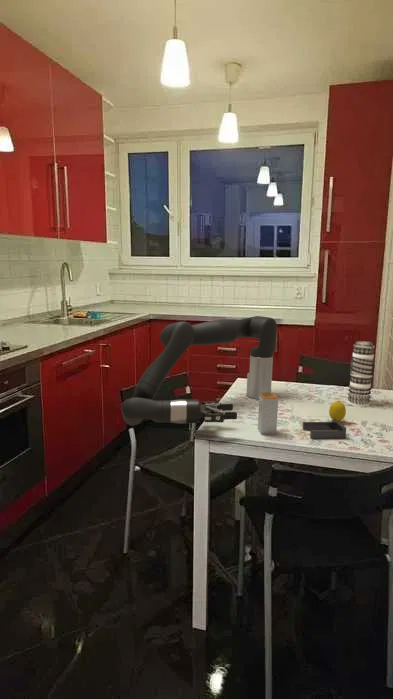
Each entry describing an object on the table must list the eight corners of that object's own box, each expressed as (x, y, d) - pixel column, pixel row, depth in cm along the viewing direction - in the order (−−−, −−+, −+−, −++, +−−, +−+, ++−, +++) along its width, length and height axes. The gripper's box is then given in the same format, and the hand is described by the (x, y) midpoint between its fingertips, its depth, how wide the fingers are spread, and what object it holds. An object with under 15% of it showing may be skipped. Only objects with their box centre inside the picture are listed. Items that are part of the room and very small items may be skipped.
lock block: (261, 434, 146) (263, 396, 144) (257, 429, 151) (259, 392, 149) (276, 434, 147) (278, 396, 145) (272, 428, 152) (274, 392, 149)
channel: (311, 438, 144) (311, 428, 143) (302, 428, 152) (303, 418, 152) (345, 438, 145) (346, 428, 144) (334, 428, 153) (335, 418, 153)
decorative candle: (341, 402, 183) (347, 341, 179) (355, 398, 189) (360, 339, 184) (361, 408, 176) (367, 344, 172) (375, 404, 182) (381, 342, 177)
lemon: (342, 426, 156) (344, 403, 154) (326, 423, 159) (328, 401, 157) (346, 421, 160) (348, 400, 159) (330, 418, 163) (332, 397, 162)
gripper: (186, 407, 138) (239, 406, 139) (183, 393, 152) (231, 393, 153) (185, 430, 139) (238, 430, 141) (183, 415, 153) (230, 415, 155)
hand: (234, 411), depth 147 cm, fingers open, 8 cm apart
